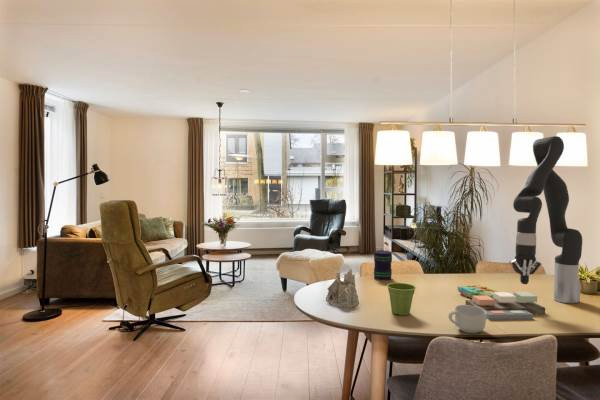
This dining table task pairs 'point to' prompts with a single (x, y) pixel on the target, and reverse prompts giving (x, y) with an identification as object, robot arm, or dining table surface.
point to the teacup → (469, 318)
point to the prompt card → (508, 315)
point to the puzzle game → (475, 291)
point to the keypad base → (511, 306)
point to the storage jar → (382, 265)
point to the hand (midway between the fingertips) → (524, 283)
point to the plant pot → (401, 297)
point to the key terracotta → (483, 300)
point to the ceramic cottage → (343, 291)
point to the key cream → (504, 297)
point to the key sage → (525, 297)
